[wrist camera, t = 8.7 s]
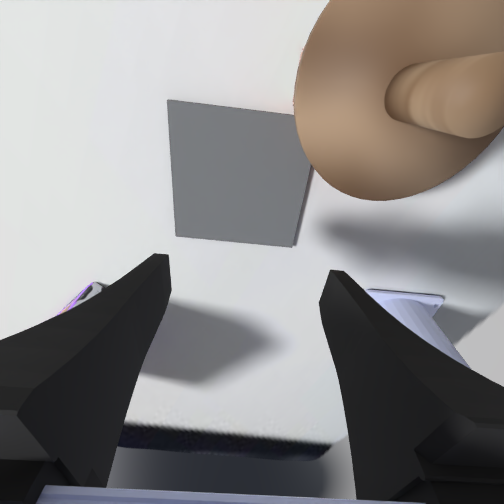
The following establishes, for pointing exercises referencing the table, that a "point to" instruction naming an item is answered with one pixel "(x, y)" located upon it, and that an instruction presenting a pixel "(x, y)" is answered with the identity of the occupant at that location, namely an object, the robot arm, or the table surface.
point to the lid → (400, 92)
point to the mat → (236, 173)
